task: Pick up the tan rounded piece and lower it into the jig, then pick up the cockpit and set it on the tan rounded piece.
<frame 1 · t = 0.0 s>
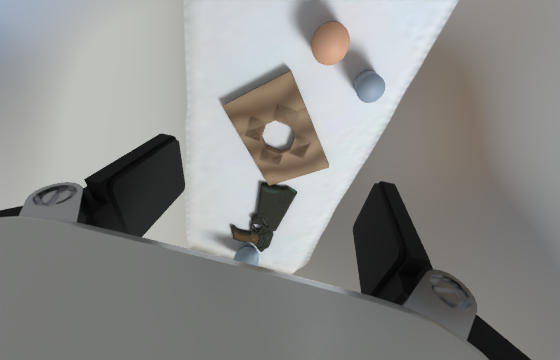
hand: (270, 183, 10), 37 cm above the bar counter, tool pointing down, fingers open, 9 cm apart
tan rounded piece: (329, 43, 38), on the bar counter
firearm: (260, 214, 65), on the bar counter
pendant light: (250, 249, 75), on the bar counter
jig: (278, 135, 49), on the bar counter
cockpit: (366, 83, 40), on the bar counter
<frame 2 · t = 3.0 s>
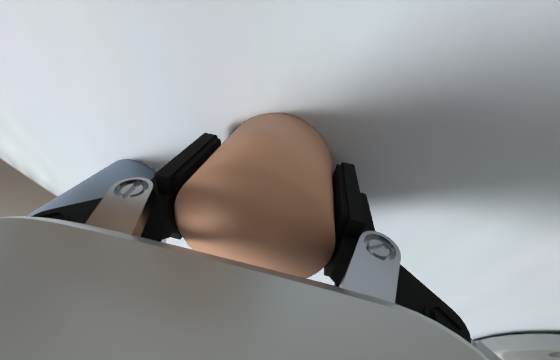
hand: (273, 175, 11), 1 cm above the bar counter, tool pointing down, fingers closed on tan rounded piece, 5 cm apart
tan rounded piece: (277, 166, 12), on the bar counter, touching gripper
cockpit: (141, 187, 15), on the bar counter
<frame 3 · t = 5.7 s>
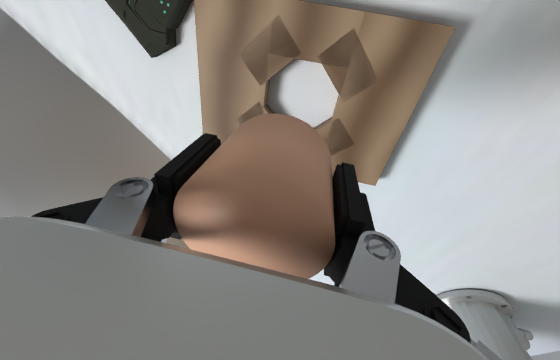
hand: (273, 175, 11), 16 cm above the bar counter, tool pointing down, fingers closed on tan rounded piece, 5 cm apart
tan rounded piece: (277, 166, 12), point 15 cm above the bar counter, touching gripper
jig: (301, 98, 24), on the bar counter
when the fingers open (2 cm above the bar counter, at t = 8.6 s): tan rounded piece drops 1 cm, resting in jig.
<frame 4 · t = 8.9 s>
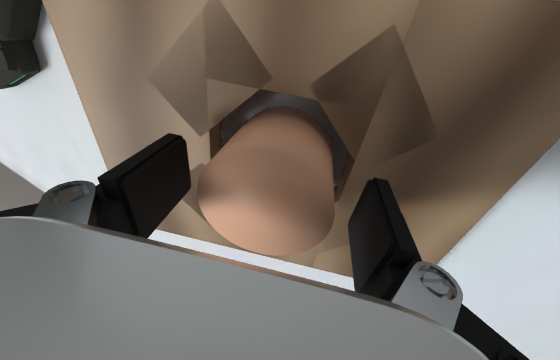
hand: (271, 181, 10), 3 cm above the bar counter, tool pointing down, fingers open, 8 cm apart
tan rounded piece: (282, 155, 13), resting in jig
jig: (281, 154, 13), on the bar counter
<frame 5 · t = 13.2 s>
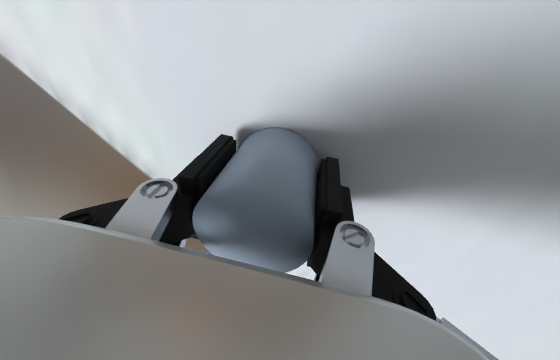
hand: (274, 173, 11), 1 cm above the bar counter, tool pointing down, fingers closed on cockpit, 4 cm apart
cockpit: (277, 166, 12), on the bar counter, touching gripper
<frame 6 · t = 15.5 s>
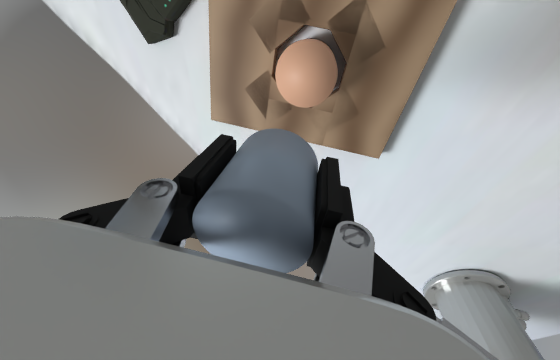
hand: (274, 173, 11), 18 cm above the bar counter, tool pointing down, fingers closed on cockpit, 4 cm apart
tan rounded piece: (309, 69, 24), resting in jig
jig: (308, 68, 24), on the bar counter
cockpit: (277, 167, 12), point 17 cm above the bar counter, touching gripper
when the fingers open (7 cm above the bar counter, at t = 18.1 s): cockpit stays where it is, resting on tan rounded piece.
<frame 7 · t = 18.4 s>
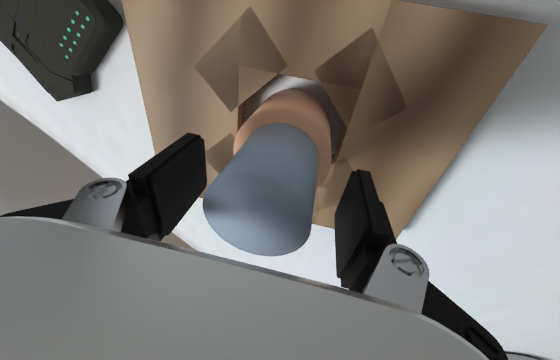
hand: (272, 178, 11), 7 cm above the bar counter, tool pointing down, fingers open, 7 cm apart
tan rounded piece: (291, 129, 17), resting in jig, touching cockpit
jig: (291, 127, 17), on the bar counter
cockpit: (280, 159, 13), point 5 cm above the bar counter, touching tan rounded piece
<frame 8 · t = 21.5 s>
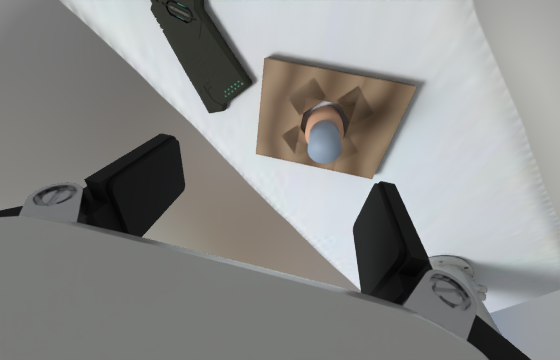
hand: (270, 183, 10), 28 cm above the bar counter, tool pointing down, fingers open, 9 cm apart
tan rounded piece: (324, 123, 37), resting in jig, touching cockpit
firearm: (197, 4, 31), on the bar counter
jig: (324, 122, 37), on the bar counter
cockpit: (324, 134, 33), point 5 cm above the bar counter, touching tan rounded piece
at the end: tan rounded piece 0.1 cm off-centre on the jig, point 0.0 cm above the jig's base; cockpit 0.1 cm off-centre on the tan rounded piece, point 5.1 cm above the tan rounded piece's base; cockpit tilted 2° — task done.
